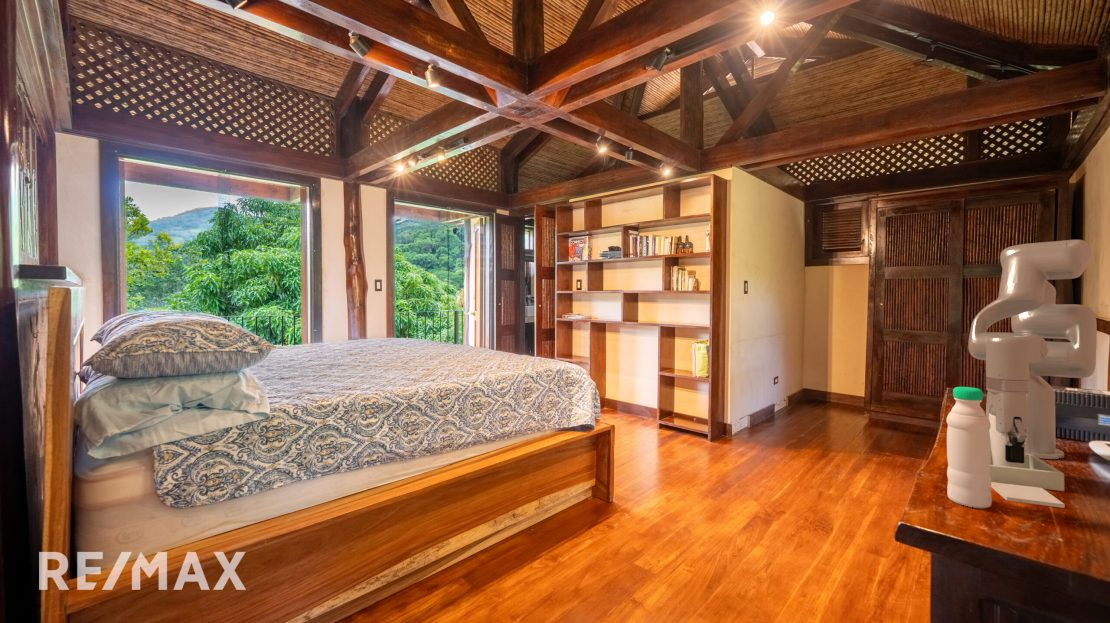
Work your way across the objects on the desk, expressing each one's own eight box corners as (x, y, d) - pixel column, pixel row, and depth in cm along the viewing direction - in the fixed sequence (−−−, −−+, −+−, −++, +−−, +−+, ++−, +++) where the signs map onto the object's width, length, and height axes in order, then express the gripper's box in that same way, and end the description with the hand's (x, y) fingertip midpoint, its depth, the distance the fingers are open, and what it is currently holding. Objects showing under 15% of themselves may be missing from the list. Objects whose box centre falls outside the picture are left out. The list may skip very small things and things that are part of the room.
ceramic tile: (988, 485, 105) (988, 481, 105) (1041, 491, 101) (1041, 487, 101) (1006, 500, 97) (1006, 497, 97) (1064, 508, 93) (1064, 504, 93)
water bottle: (980, 512, 92) (979, 392, 92) (940, 499, 98) (938, 387, 98) (998, 505, 95) (997, 389, 94) (957, 492, 101) (956, 383, 101)
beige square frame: (960, 462, 119) (960, 447, 119) (1032, 469, 113) (1032, 454, 113) (982, 481, 107) (982, 465, 107) (1064, 491, 101) (1064, 473, 101)
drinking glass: (1036, 481, 106) (1035, 419, 106) (1002, 480, 107) (1002, 418, 107) (1013, 471, 113) (1012, 412, 112) (982, 469, 114) (981, 411, 114)
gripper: (973, 379, 119) (974, 445, 119) (1002, 391, 104) (1003, 467, 104) (1011, 380, 116) (1011, 448, 116) (1047, 393, 100) (1048, 472, 101)
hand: (1008, 456), depth 110 cm, fingers closed on drinking glass, 6 cm apart
